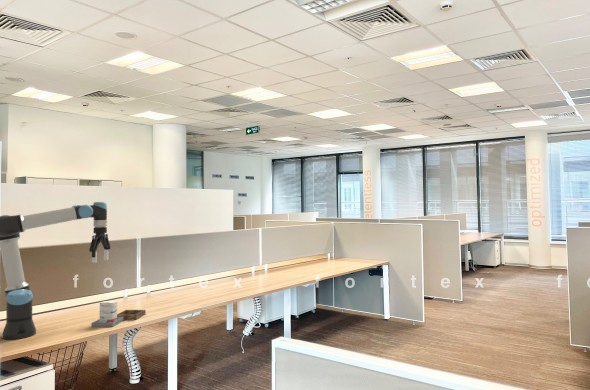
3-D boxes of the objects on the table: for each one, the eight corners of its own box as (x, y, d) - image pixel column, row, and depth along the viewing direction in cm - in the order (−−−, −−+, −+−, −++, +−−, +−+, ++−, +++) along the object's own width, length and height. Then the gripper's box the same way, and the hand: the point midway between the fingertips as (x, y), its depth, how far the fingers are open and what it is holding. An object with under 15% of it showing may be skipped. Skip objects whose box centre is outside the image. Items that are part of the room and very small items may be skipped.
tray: (91, 326, 240) (91, 322, 240) (103, 320, 253) (103, 317, 253) (113, 326, 239) (113, 322, 239) (123, 320, 252) (123, 317, 252)
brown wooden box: (115, 319, 254) (115, 314, 254) (125, 314, 267) (125, 309, 267) (136, 319, 253) (136, 314, 253) (145, 314, 266) (145, 309, 266)
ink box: (117, 321, 248) (117, 301, 248) (112, 323, 243) (112, 303, 243) (104, 321, 250) (104, 300, 250) (98, 323, 245) (98, 302, 245)
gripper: (95, 227, 248) (95, 263, 248) (116, 225, 273) (116, 258, 272) (82, 227, 249) (82, 264, 248) (104, 226, 274) (104, 258, 273)
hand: (100, 261), depth 260 cm, fingers open, 13 cm apart
